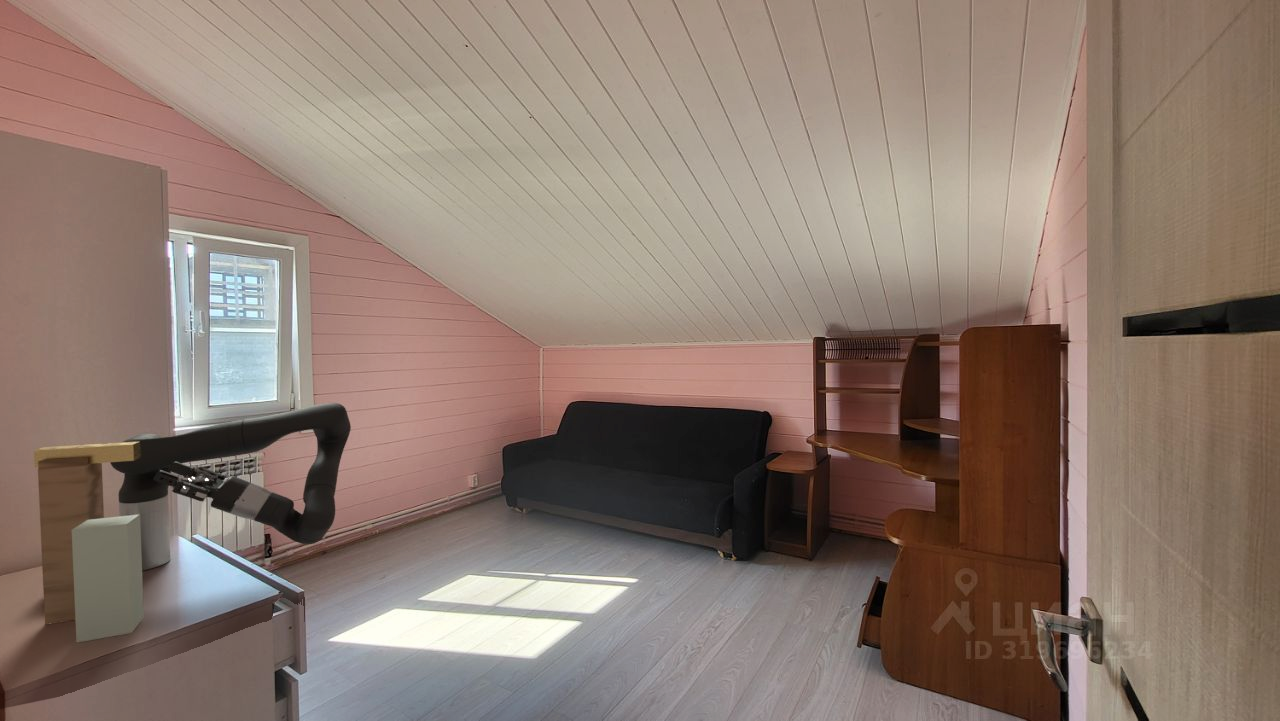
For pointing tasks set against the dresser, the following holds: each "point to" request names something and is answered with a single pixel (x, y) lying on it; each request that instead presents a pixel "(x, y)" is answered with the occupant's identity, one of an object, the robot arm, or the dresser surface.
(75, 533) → the block
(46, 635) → the dresser surface
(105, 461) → the rail
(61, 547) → the stand
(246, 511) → the robot arm
